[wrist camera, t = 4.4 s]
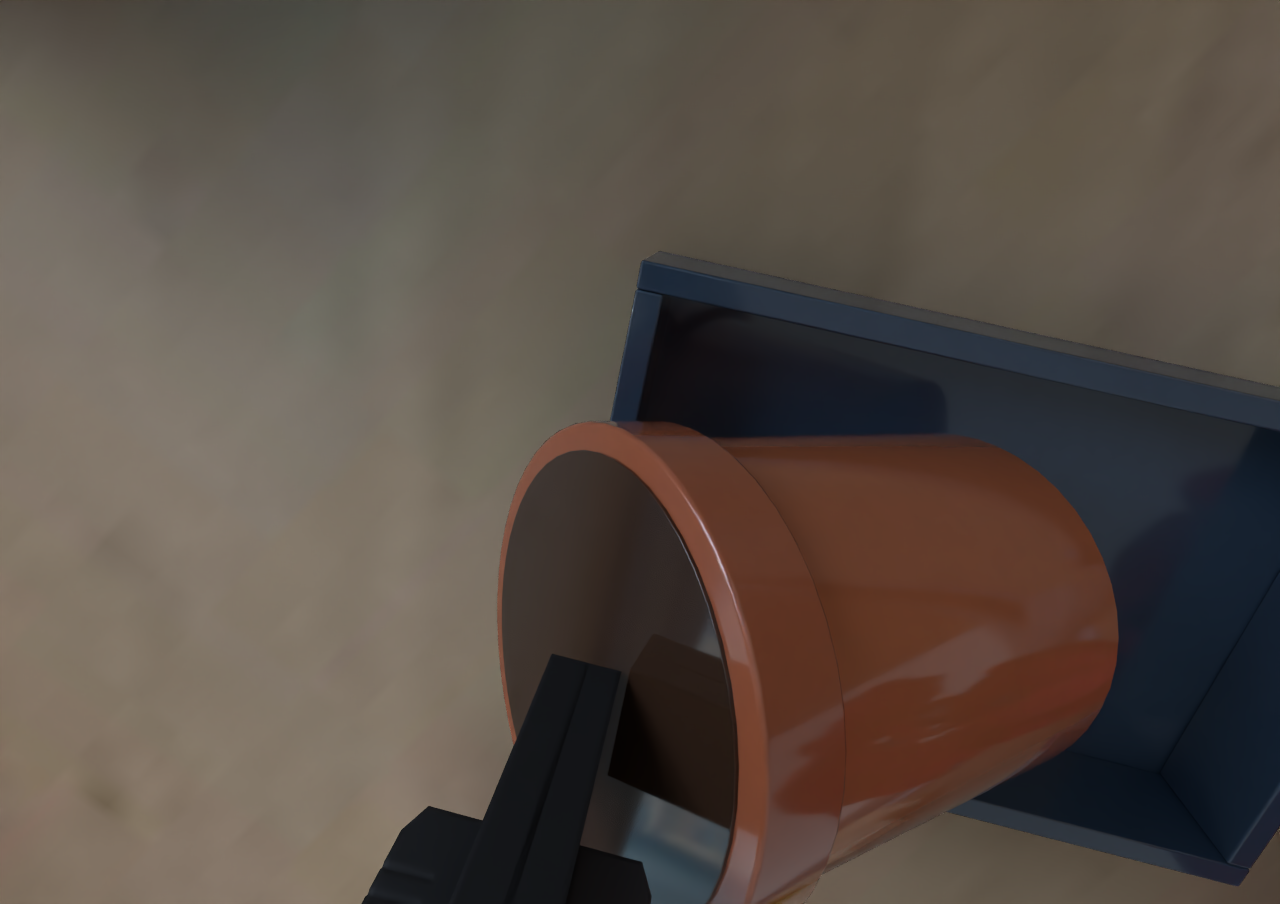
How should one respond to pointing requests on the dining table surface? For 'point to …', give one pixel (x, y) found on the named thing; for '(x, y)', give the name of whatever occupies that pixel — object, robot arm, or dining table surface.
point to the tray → (1089, 480)
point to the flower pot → (799, 638)
